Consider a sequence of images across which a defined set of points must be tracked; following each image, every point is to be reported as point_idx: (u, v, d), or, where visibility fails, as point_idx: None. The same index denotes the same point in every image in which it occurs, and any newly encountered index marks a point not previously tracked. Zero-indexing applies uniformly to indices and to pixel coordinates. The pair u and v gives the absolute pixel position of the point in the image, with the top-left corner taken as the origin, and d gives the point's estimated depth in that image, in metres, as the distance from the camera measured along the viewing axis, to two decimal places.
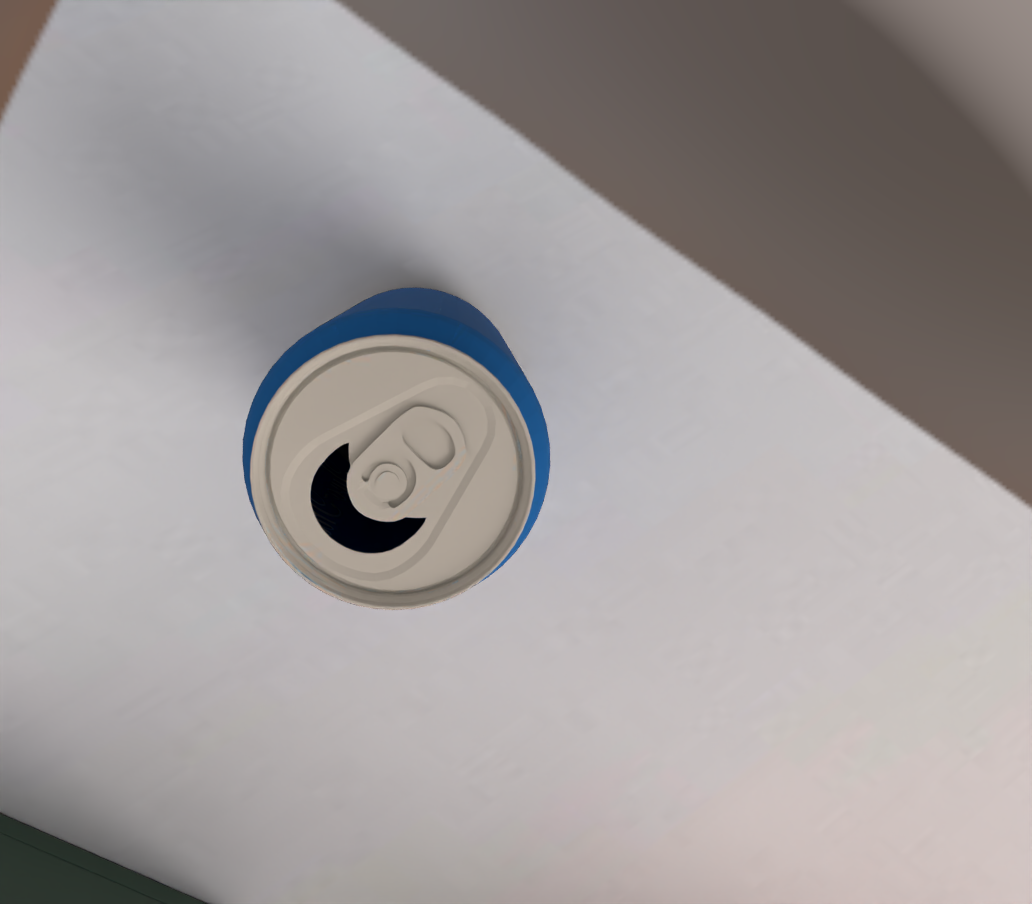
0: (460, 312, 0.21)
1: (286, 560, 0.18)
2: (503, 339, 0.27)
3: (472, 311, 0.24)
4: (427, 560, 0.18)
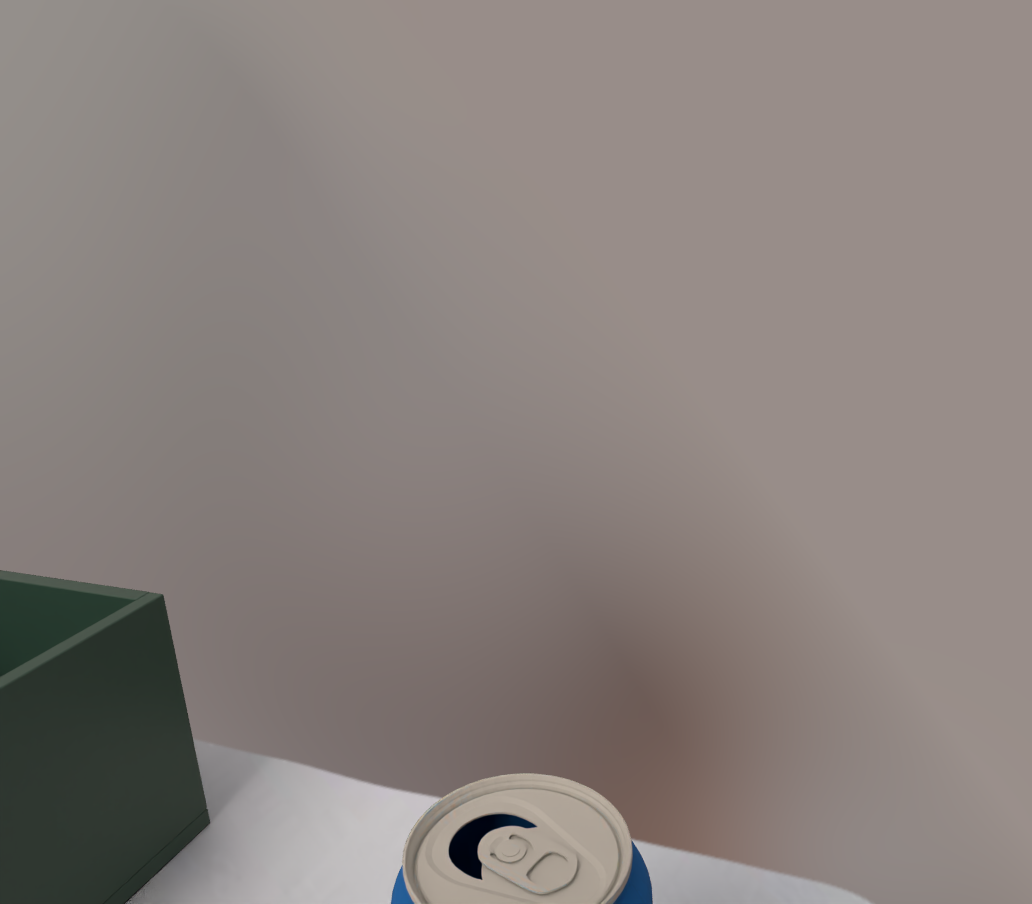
0: None
1: (443, 799, 0.24)
2: None
3: None
4: (444, 883, 0.21)
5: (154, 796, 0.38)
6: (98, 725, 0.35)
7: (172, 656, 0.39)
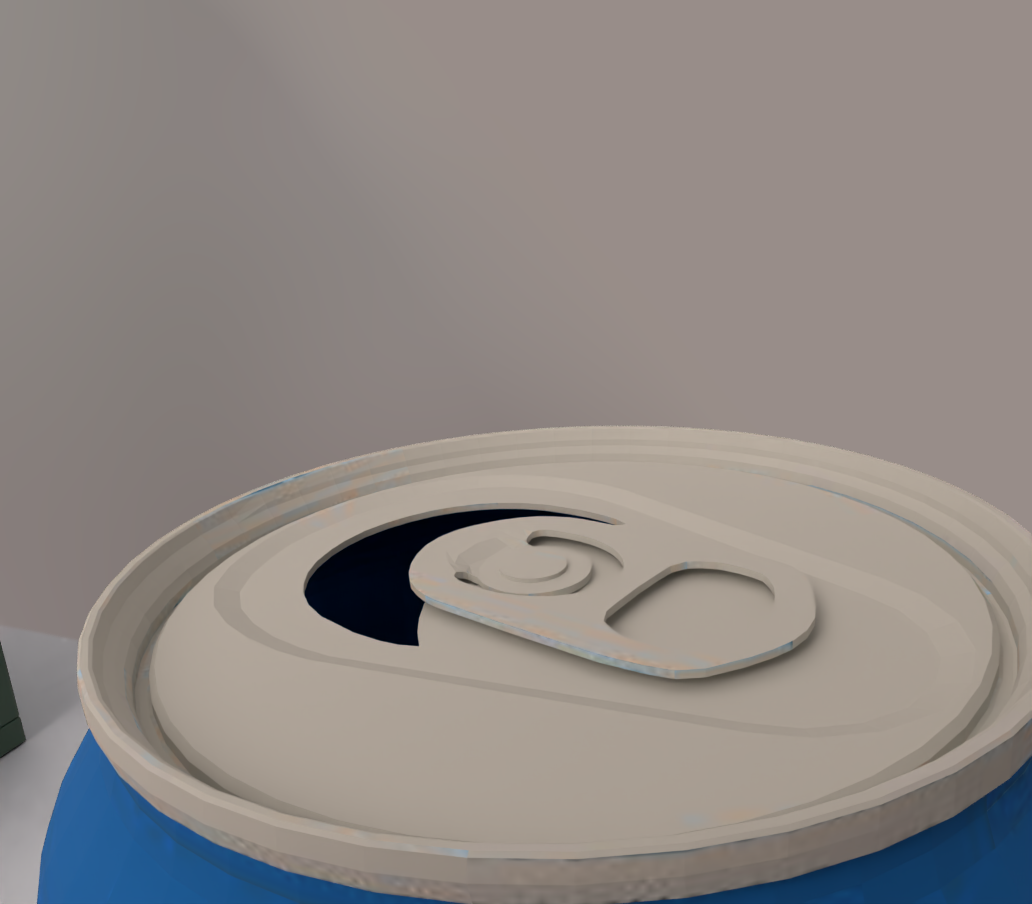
0: None
1: (318, 471, 0.08)
2: None
3: None
4: (255, 655, 0.05)
5: None
6: None
7: None
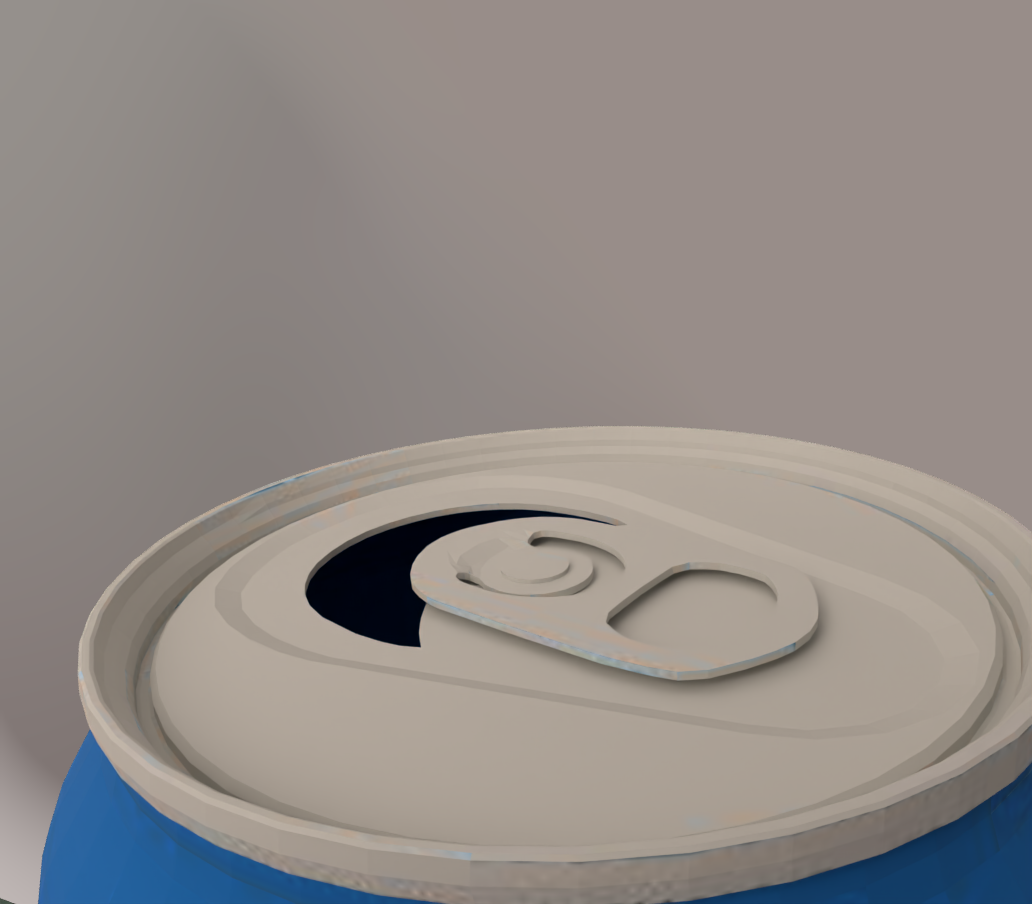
0: None
1: (319, 472, 0.08)
2: None
3: None
4: (258, 657, 0.05)
5: None
6: None
7: None
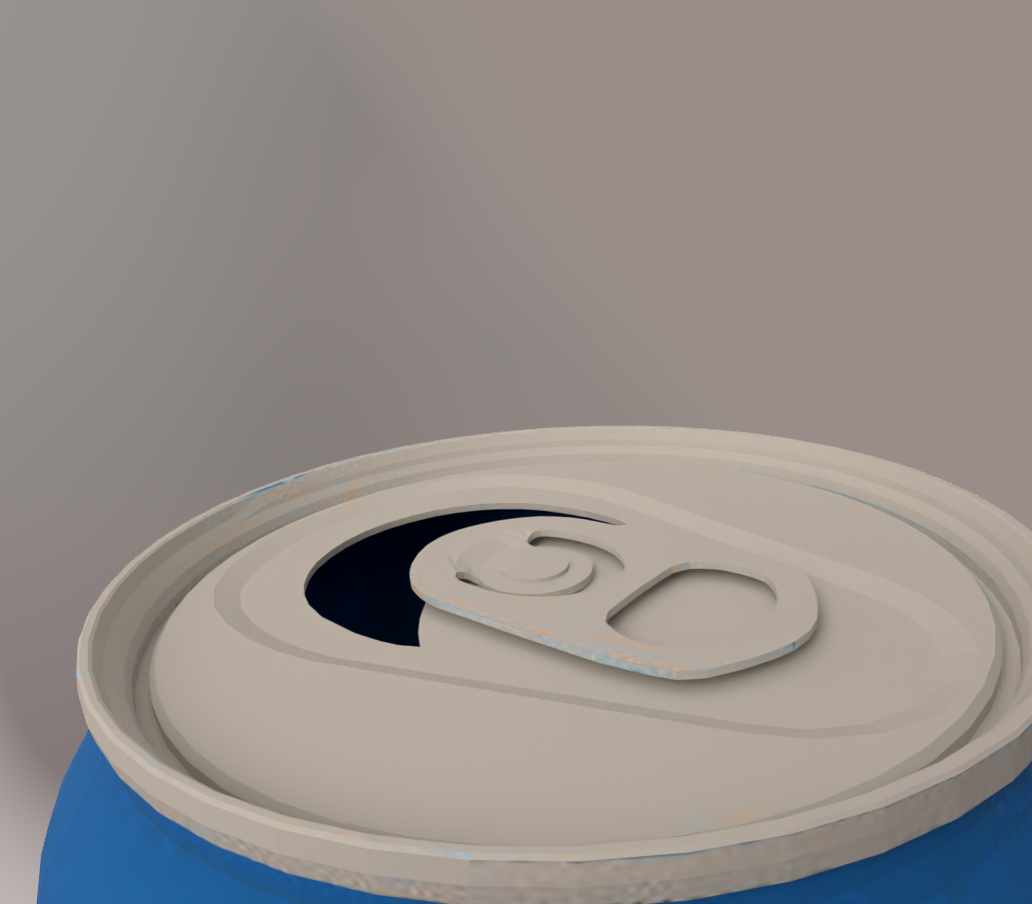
0: None
1: (318, 471, 0.08)
2: None
3: None
4: (255, 656, 0.05)
5: None
6: None
7: None
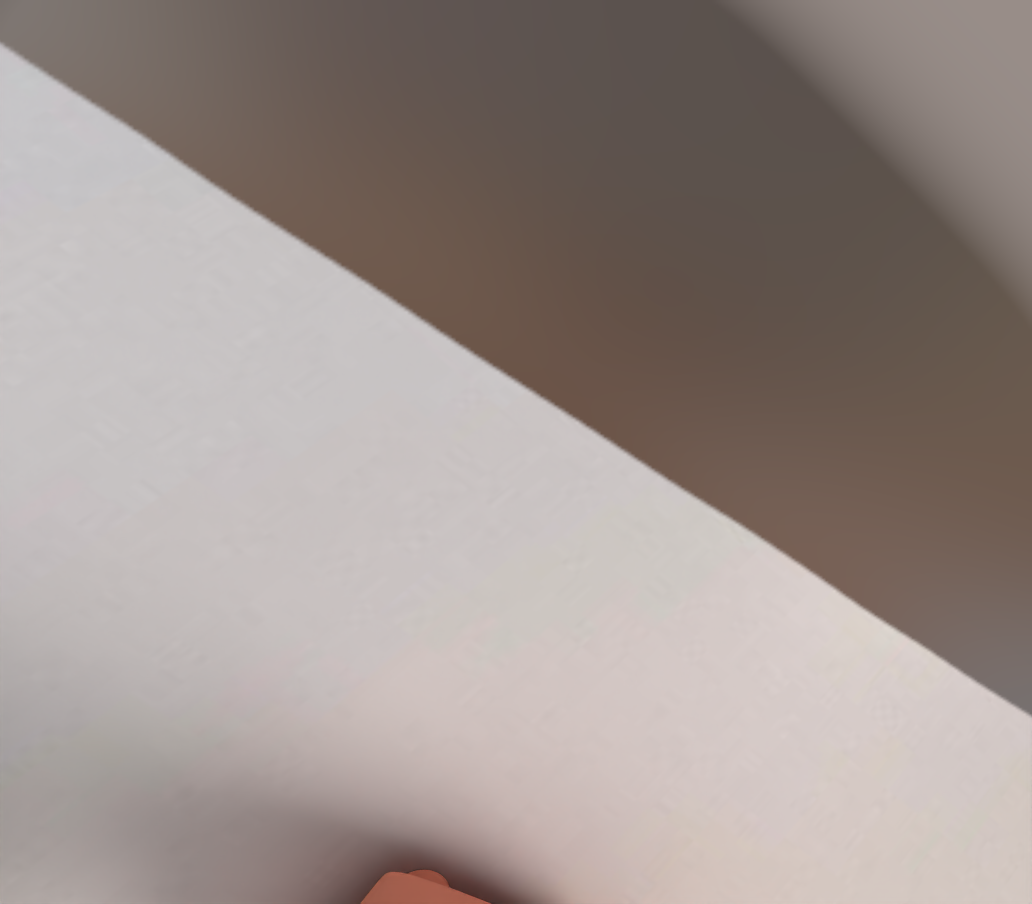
0: None
1: None
2: None
3: None
4: None
5: None
6: None
7: None
